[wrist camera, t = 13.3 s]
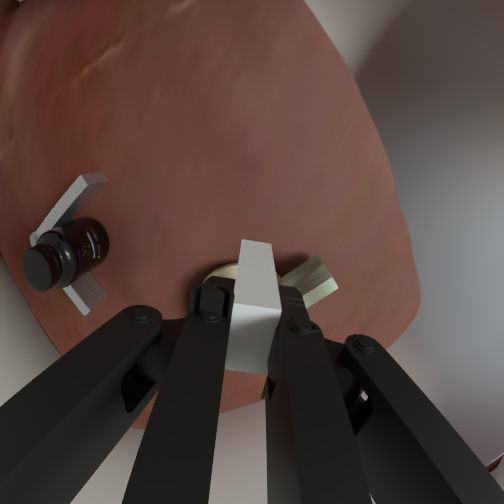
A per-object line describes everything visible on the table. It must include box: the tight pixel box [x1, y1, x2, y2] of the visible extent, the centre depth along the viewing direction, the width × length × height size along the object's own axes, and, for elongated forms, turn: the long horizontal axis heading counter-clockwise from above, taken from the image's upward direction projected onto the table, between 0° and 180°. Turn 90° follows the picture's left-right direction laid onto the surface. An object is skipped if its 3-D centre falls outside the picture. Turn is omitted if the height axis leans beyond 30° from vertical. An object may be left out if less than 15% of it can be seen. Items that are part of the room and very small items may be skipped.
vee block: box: [30, 172, 108, 316], centre depth 31 cm, size 18×10×5 cm, turn 170°
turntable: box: [203, 254, 338, 308], centre depth 31 cm, size 17×12×7 cm
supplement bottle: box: [22, 217, 109, 292], centre depth 28 cm, size 7×7×12 cm
